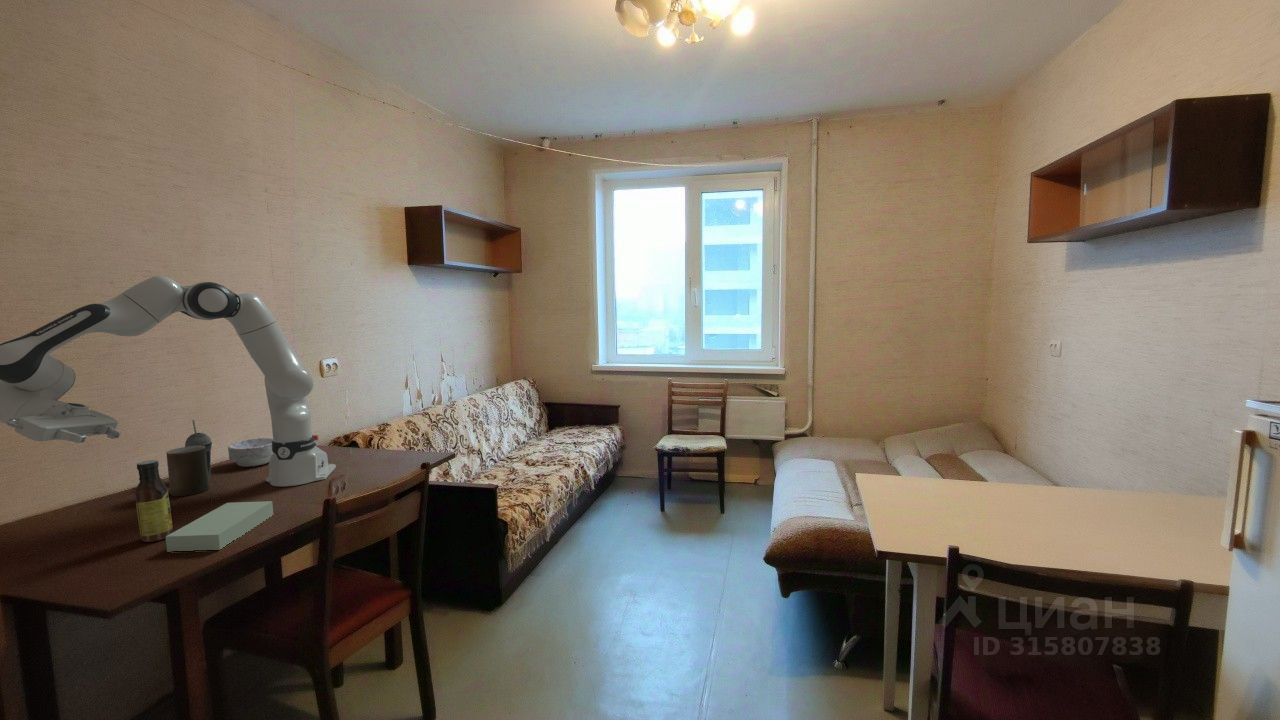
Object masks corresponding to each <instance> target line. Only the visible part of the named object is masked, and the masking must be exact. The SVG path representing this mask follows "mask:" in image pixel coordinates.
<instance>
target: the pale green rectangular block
mask: <svg viewBox="0 0 1280 720" xmlns="http://www.w3.org/2000/svg"><path fill="white" fill-rule="evenodd" d="M272 515H273V516H274V506H273V501H271V500H267V501H264V500H263V501H241V502H240V501H239V502H238V501H237V502H226V503H224V504H222V505H221V506H219V507H217V508H215V509H213V510H211V511H210V512H208V513H206V514H204V515H202V516H201V517H200V516H199V518H197V519H195V520H194V521H191V522H190V523H188V524H185V525H184V526H182V527H181V528H179V529H177V530H175V531H172V533H171V534H169V535H168V536H166V538H165V545H166V553H167V552H171V551H193V550H220V549H222V548H223V547H225V546H226V545H227V544H229V543H231V542H232V541H233V540H235V541H237V540H238V539H239V537H240V538H241V537H242V535H243V536H244V535H246V534H247V533H248V531H249V532H250V531H252V530H253V529H255V528H256V527H258V526H259V525H260V523H261V524H262V523H264V522H265V521H267V520H269V519H270V518H272V517H273V516H272ZM269 517H270V518H269ZM266 519H267V520H266ZM263 521H264V522H263ZM257 525H258V526H257ZM254 527H255V528H254ZM251 529H252V530H251ZM246 532H247V533H246ZM245 533H246V534H245ZM237 538H238V539H237ZM236 539H237V540H236ZM232 543H233V542H232ZM232 543H231V544H232ZM229 545H230V544H229ZM226 547H227V546H226ZM226 547H225V548H226ZM223 549H224V548H223ZM223 549H222V550H223ZM220 551H221V550H220ZM171 553H172V552H171Z"/></svg>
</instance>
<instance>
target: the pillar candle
mask: <svg viewBox="0 0 1280 720" xmlns="http://www.w3.org/2000/svg"><path fill="white" fill-rule="evenodd" d="M165 453H166V462H167V472H168V473H167V474H168V485H169V493H170V496H171V495H172V497H185V496H193V495H197V494H199V493H205V492H206V491H208V490H209V489H210V477H208V467H207V457H206V447H205V446H189V447H186V445H185V444H184V446H183V447H177V448H174V449H170V450H167V451H166V452H165Z"/></svg>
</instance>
